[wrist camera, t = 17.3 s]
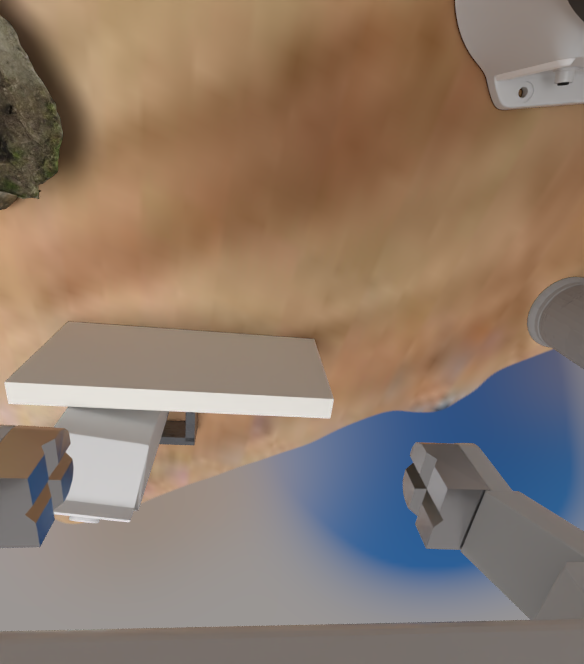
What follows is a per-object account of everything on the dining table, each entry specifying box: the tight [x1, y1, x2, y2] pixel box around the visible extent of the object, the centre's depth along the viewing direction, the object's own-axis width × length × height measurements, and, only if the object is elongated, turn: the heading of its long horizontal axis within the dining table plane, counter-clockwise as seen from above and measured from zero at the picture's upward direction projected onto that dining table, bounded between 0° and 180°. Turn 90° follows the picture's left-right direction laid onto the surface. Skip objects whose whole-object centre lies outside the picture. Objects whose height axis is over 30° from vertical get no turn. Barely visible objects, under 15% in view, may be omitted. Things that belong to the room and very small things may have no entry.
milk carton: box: [53, 407, 169, 523], centre depth 37 cm, size 7×7×19 cm
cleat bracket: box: [159, 412, 198, 445], centre depth 45 cm, size 13×10×3 cm
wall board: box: [4, 321, 334, 418], centre depth 39 cm, size 26×2×12 cm, turn 83°
